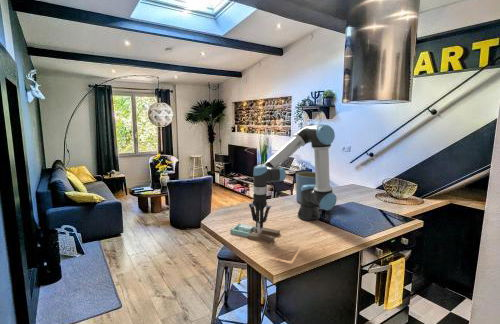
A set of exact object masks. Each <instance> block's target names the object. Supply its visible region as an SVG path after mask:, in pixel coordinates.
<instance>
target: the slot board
mask: <svg viewBox="0 0 500 324" xmlns="http://www.w3.org/2000/svg"><path fill="white" fill-rule="evenodd" d="M280 233H281V230H280V229H275V228H274V229H273V228H268V227H264V226H263V228H262V232H261V233H260V234H257V227H256V228H255V231H253V233H252V232H251V233H249V234H248V237H247V239H249V240H254V241H259V242H263V243H268V244H272V243H273V242H274V241H275V240H276V239H277V237H278V236H279V235H280Z"/></svg>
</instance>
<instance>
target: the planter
mask: <svg viewBox="0 0 500 324" xmlns="http://www.w3.org/2000/svg"><path fill="white" fill-rule="evenodd" d="M295 175H296V177H295V179H296V180H295V181H296V182H295V184H296V185H295V186H296V189H295V190H296V191H295V192H296V194H295V195H296V202H297V203H299V204H301V187H302V186H303V185H316V177H315V171H314V172H313V171H302V172H301V171H300V172H297V173H296V174H295Z"/></svg>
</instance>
